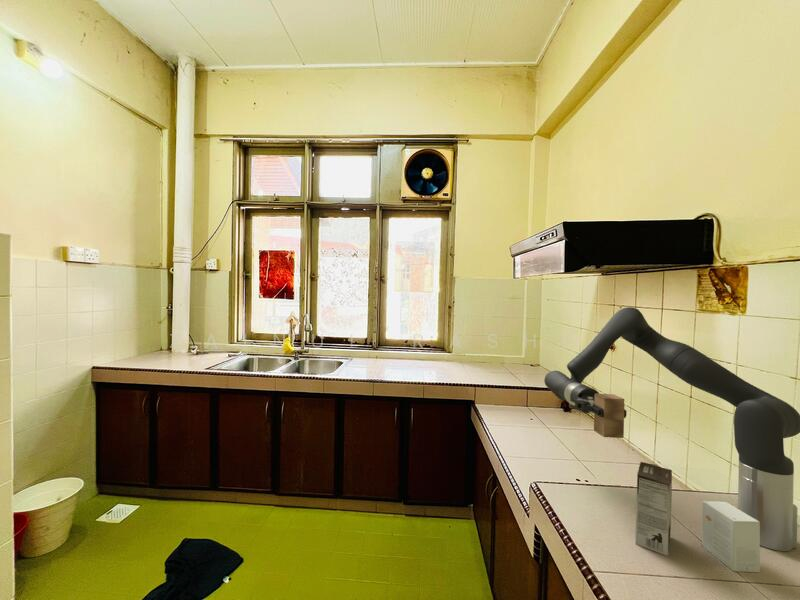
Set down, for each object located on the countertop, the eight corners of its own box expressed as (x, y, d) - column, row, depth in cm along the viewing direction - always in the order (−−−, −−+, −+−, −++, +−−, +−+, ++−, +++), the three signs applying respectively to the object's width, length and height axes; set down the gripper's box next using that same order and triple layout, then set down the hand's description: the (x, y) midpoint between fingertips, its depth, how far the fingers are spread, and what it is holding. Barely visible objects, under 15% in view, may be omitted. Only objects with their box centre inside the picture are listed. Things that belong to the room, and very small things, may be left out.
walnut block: (612, 431, 96) (613, 394, 96) (623, 438, 91) (624, 399, 92) (593, 430, 96) (594, 393, 97) (603, 437, 92) (604, 398, 92)
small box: (760, 573, 74) (761, 522, 74) (733, 572, 74) (734, 521, 74) (725, 547, 82) (726, 501, 82) (701, 546, 82) (702, 500, 82)
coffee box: (638, 525, 89) (640, 460, 89) (671, 537, 85) (672, 469, 85) (634, 544, 82) (636, 473, 82) (669, 557, 78) (671, 483, 78)
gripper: (558, 383, 109) (585, 398, 92) (606, 385, 109) (642, 400, 92) (558, 408, 109) (585, 427, 92) (605, 410, 109) (641, 429, 91)
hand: (613, 413), depth 92 cm, fingers closed on walnut block, 5 cm apart
